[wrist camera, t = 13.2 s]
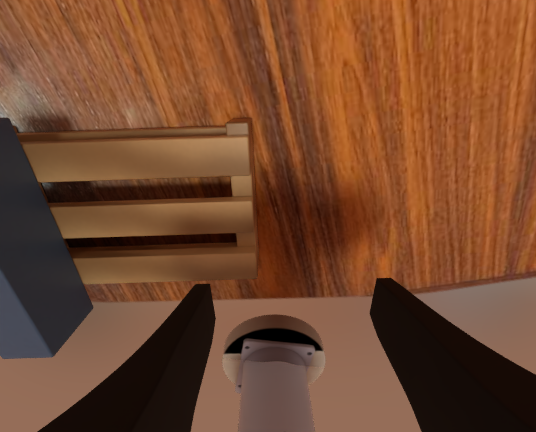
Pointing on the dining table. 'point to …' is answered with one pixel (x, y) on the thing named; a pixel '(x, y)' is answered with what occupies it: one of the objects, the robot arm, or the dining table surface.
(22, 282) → the slate blue rectangular box
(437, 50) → the dining table surface
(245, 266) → the rack
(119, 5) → the dining table surface
